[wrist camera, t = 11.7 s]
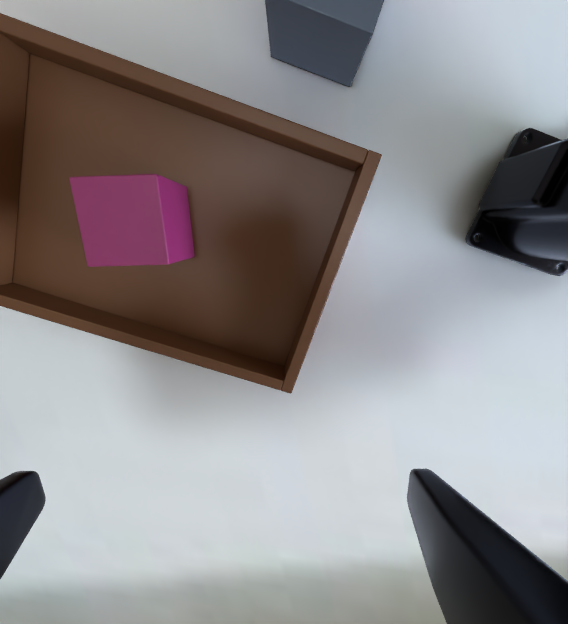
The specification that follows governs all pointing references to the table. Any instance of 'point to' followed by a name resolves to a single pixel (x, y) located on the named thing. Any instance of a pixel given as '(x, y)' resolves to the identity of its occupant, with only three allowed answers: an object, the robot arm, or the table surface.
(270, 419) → the table surface
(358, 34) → the slate block
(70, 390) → the table surface
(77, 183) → the mulberry block
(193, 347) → the tray
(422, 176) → the table surface
